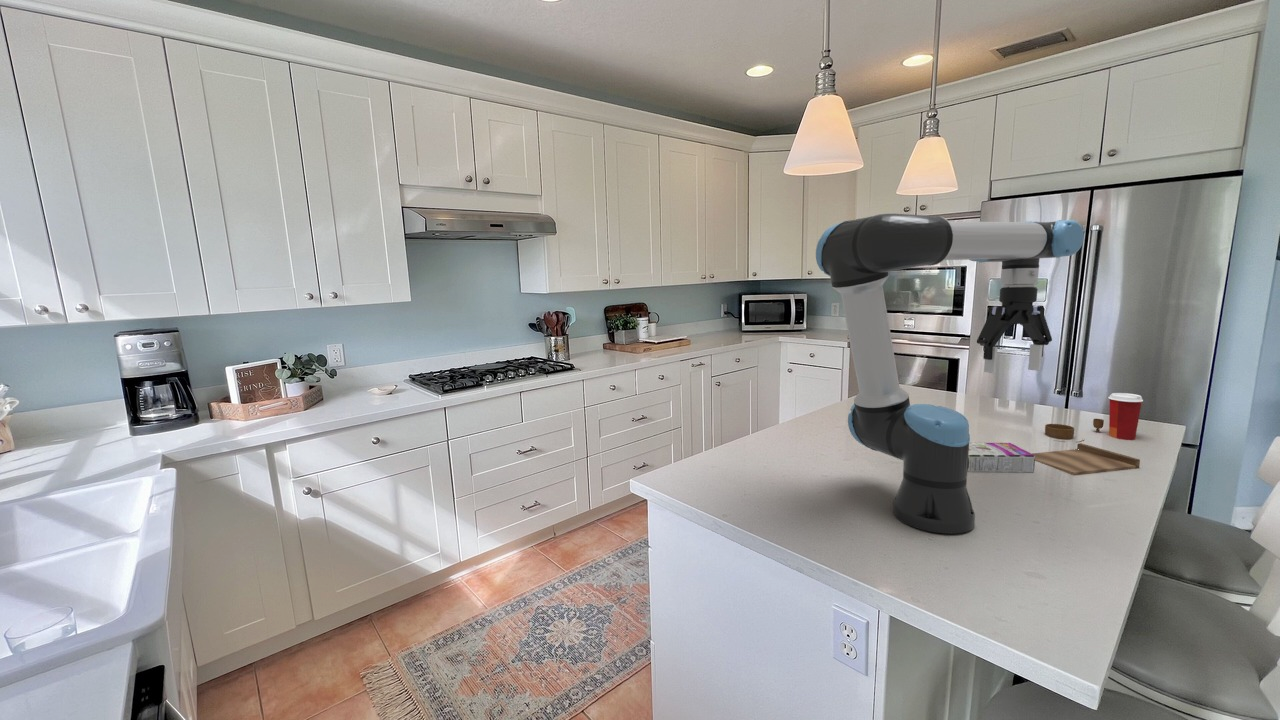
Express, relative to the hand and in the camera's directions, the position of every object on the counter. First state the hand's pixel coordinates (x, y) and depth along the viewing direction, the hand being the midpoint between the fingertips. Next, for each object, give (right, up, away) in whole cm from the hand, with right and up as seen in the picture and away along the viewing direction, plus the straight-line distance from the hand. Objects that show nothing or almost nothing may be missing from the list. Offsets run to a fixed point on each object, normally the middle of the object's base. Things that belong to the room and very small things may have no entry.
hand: (1012, 371), depth 131 cm
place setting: (+39, -23, +27) cm, 52 cm away
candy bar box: (+7, -23, +6) cm, 25 cm away
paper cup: (+52, -22, +26) cm, 62 cm away
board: (+23, -25, +8) cm, 35 cm away
